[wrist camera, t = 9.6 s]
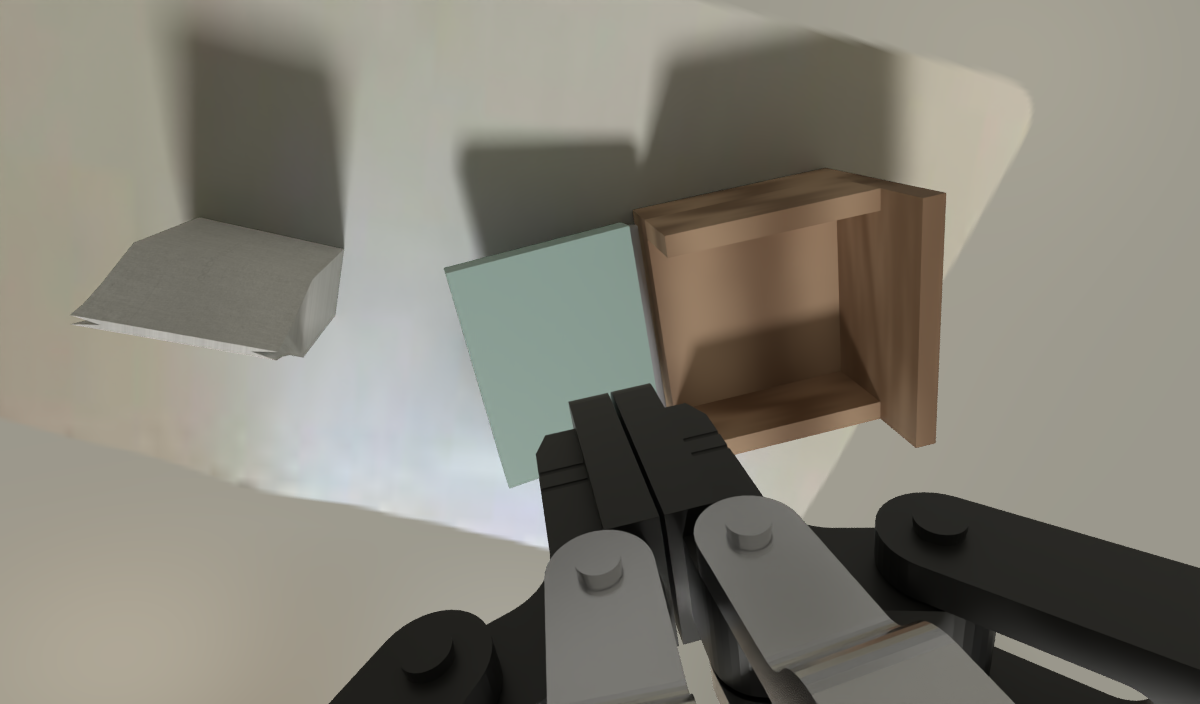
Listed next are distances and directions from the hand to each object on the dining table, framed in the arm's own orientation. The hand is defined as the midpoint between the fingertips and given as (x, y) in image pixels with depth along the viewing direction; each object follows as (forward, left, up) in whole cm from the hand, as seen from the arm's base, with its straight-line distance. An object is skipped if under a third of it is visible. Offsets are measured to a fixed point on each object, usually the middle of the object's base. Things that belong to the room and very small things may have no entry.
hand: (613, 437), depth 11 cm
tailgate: (+4, -7, -20) cm, 22 cm away
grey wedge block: (-14, 0, -24) cm, 27 cm away
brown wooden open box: (+10, -7, -23) cm, 26 cm away
